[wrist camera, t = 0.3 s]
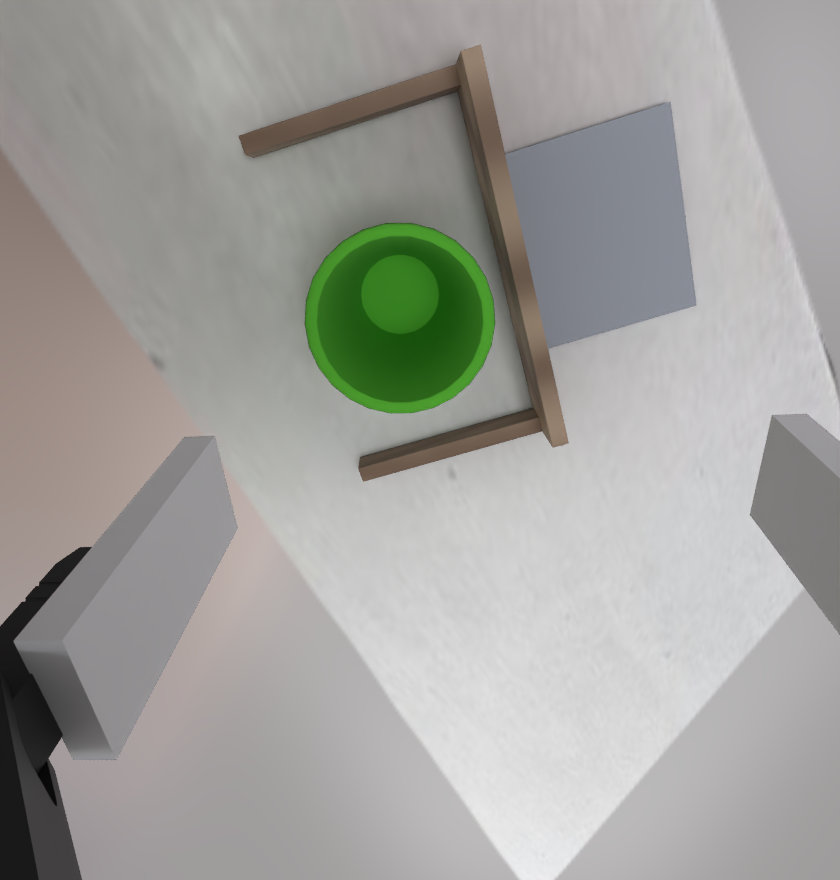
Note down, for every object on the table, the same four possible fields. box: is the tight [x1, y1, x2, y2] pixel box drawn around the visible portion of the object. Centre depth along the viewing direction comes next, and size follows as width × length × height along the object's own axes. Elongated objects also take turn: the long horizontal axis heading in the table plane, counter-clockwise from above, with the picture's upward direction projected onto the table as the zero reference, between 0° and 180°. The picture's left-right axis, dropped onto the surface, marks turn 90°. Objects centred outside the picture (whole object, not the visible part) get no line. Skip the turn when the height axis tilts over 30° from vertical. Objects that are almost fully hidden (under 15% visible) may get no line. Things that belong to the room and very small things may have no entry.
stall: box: [239, 45, 568, 482], centre depth 37 cm, size 22×14×5 cm, turn 16°
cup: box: [305, 223, 495, 413], centre depth 34 cm, size 9×9×11 cm
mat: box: [505, 102, 696, 348], centre depth 38 cm, size 12×10×1 cm
